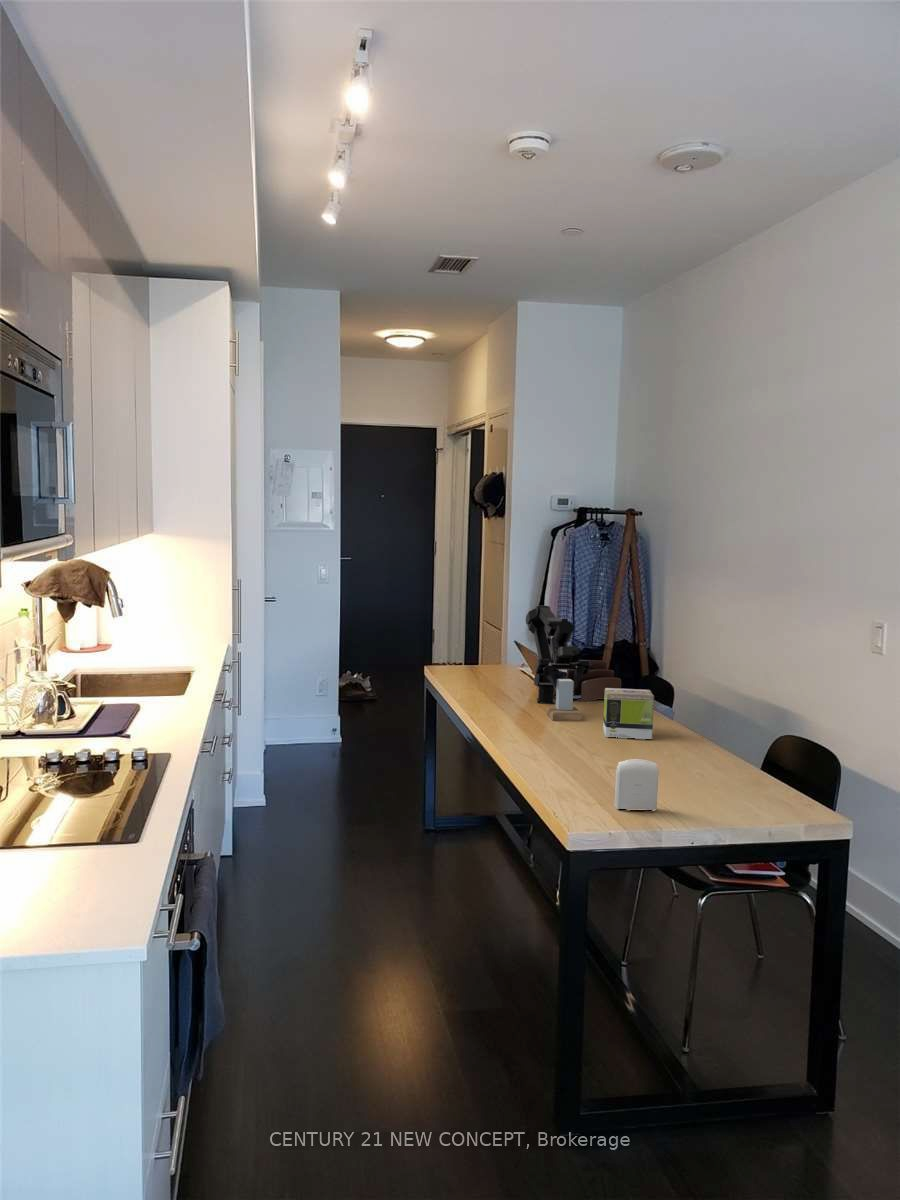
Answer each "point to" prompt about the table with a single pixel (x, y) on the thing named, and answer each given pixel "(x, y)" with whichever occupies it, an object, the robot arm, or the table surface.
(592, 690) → the letter holder
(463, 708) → the table surface
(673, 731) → the table surface
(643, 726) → the tea box
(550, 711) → the block
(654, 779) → the photo printer
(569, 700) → the tin
